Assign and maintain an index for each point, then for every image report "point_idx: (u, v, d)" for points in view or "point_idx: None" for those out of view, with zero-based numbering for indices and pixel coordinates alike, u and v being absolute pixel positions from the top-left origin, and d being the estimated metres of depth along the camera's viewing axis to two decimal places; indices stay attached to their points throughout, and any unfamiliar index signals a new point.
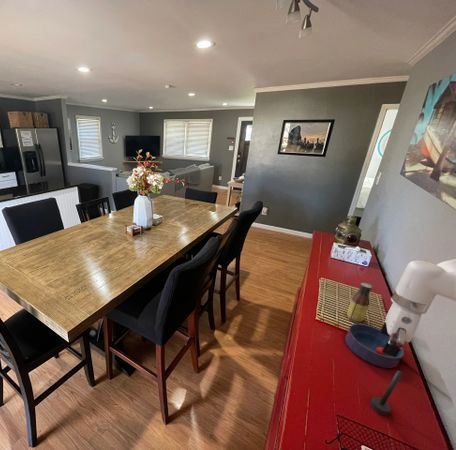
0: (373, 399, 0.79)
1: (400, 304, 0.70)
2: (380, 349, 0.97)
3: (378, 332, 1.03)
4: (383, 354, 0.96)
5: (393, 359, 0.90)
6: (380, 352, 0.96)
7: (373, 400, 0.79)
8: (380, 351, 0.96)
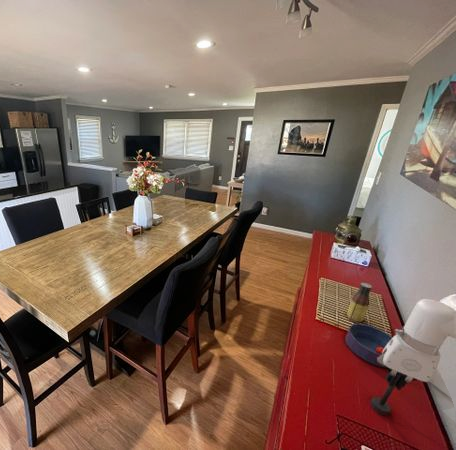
0: (373, 399, 0.79)
1: None
2: (380, 349, 0.97)
3: (378, 332, 1.03)
4: None
5: None
6: (380, 352, 0.96)
7: (373, 400, 0.79)
8: (380, 351, 0.96)
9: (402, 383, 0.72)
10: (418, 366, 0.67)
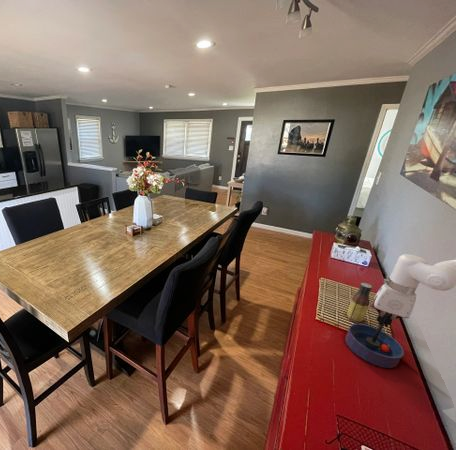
0: (367, 338, 1.01)
1: None
2: (387, 349, 0.97)
3: None
4: (381, 348, 0.98)
5: (393, 359, 0.90)
6: (383, 347, 0.98)
7: (367, 339, 1.01)
8: (384, 348, 0.97)
9: (389, 321, 0.94)
10: (400, 305, 0.89)
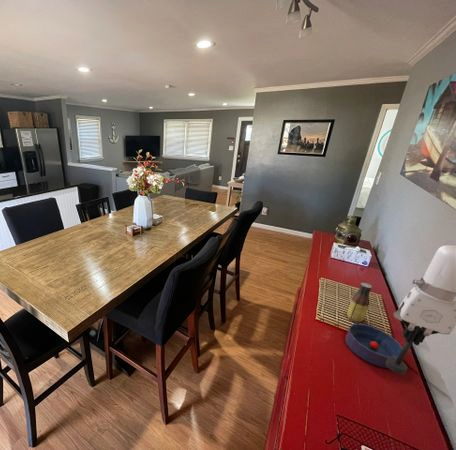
0: (388, 359, 0.76)
1: None
2: (372, 347, 0.99)
3: (378, 332, 1.03)
4: None
5: None
6: (373, 348, 1.00)
7: (389, 360, 0.76)
8: (373, 348, 1.00)
9: (420, 338, 0.69)
10: (438, 317, 0.64)
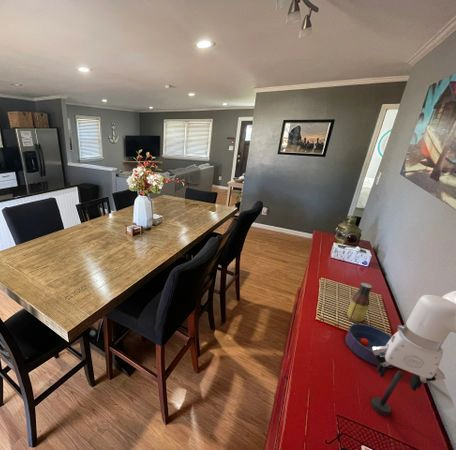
0: (373, 399, 0.79)
1: None
2: (366, 345, 1.00)
3: (378, 332, 1.03)
4: (366, 341, 1.00)
5: None
6: (368, 343, 1.00)
7: (373, 400, 0.79)
8: (368, 344, 1.00)
9: (418, 384, 0.70)
10: (420, 362, 0.67)
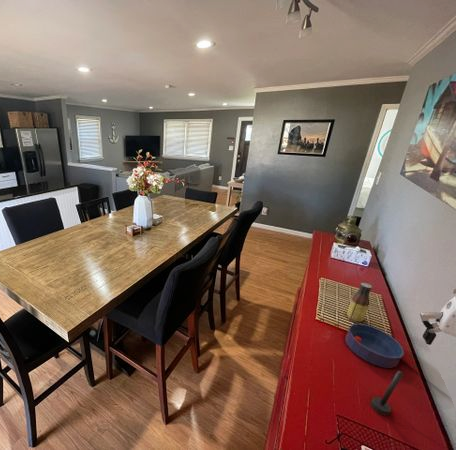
0: (373, 399, 0.79)
1: None
2: (359, 340, 1.01)
3: (378, 332, 1.03)
4: None
5: (393, 359, 0.90)
6: (356, 338, 1.01)
7: (373, 400, 0.79)
8: (357, 339, 1.01)
9: None
10: None
